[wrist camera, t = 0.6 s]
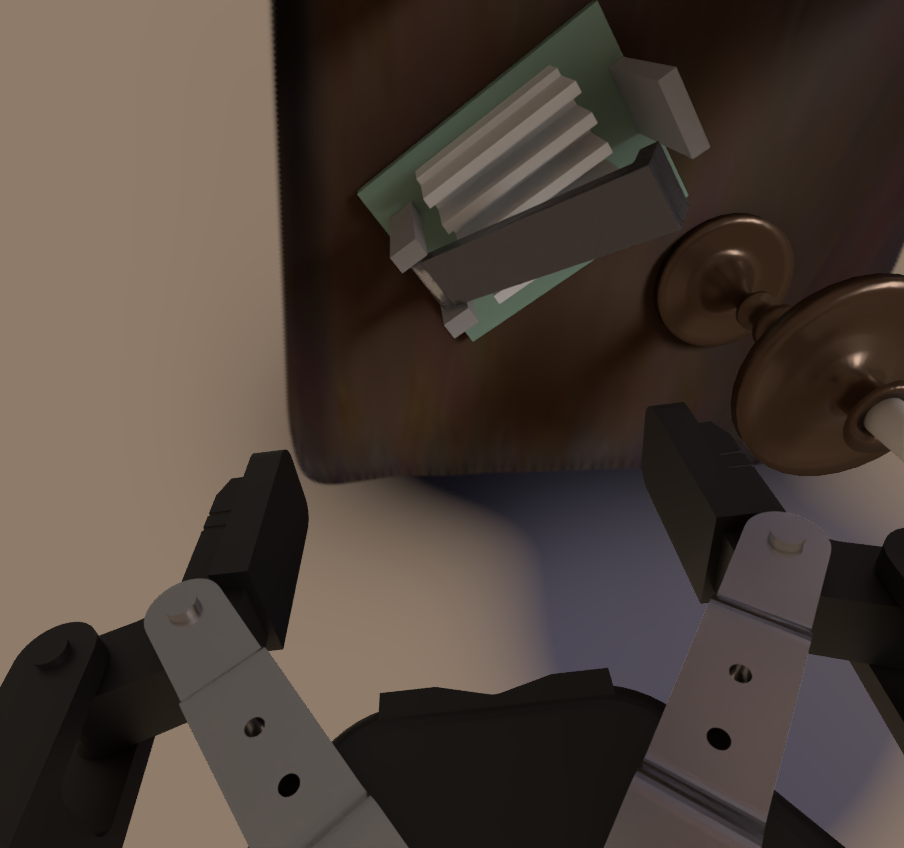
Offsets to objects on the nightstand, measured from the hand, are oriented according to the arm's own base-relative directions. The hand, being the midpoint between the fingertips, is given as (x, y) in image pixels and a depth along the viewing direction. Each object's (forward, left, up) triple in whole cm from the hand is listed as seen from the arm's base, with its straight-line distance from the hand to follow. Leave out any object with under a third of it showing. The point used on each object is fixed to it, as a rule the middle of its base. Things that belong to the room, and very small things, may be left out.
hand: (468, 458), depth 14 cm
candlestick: (-12, +17, -28) cm, 35 cm away
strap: (-4, +3, -18) cm, 19 cm away
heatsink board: (-5, +4, -27) cm, 28 cm away
